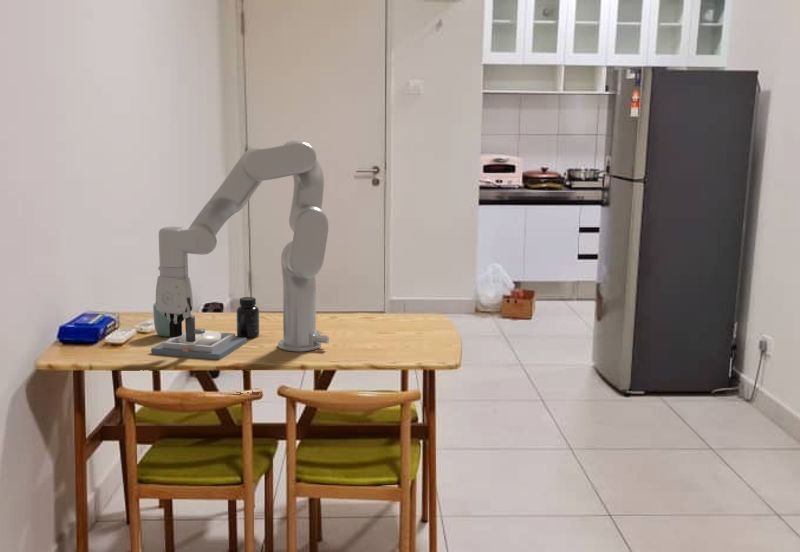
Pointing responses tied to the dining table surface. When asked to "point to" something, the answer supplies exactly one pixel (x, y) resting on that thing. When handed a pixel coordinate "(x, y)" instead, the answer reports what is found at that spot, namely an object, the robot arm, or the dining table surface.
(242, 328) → the supplement bottle
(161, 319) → the cup
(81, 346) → the dining table surface
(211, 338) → the dial
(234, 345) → the board
